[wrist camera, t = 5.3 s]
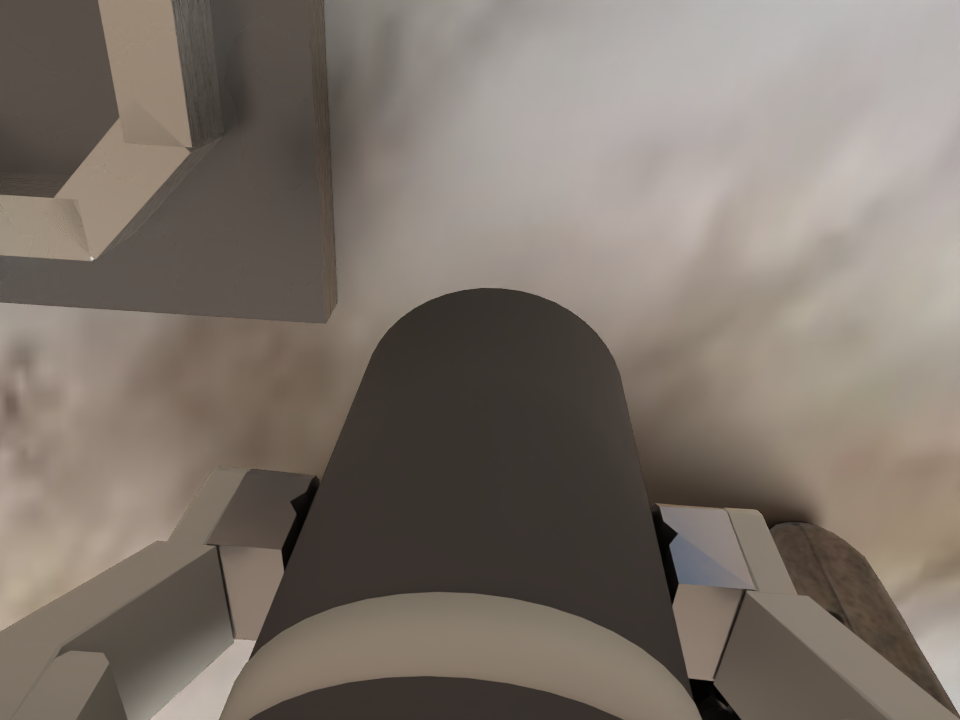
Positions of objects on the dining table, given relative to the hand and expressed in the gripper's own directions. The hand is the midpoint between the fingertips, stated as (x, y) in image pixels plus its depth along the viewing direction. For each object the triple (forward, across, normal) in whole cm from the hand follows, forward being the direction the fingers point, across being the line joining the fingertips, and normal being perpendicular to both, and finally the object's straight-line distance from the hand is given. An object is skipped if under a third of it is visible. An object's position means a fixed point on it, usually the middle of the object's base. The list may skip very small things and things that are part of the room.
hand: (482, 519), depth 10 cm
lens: (+3, 0, 0) cm, 3 cm away
